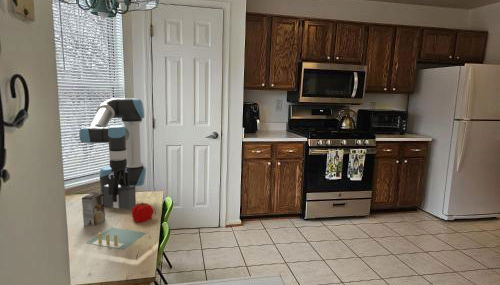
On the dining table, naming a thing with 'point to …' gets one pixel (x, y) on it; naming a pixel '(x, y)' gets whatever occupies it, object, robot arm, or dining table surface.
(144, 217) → the tomato
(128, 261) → the dining table surface
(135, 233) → the board
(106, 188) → the housing
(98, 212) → the coffee box
